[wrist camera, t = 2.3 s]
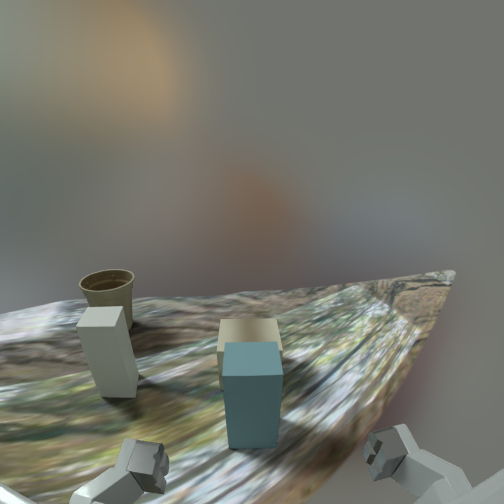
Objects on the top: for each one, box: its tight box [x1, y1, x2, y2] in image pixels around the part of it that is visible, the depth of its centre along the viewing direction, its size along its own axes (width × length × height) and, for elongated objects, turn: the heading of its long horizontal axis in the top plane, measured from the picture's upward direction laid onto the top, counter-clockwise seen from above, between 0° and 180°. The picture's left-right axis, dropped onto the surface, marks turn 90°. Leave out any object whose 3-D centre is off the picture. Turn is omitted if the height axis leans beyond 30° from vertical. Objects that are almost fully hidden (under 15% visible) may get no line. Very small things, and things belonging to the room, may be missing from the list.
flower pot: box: [79, 269, 135, 330], centre depth 42 cm, size 9×9×9 cm
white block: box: [76, 306, 139, 398], centre depth 29 cm, size 4×4×10 cm
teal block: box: [222, 341, 284, 449], centre depth 23 cm, size 4×4×10 cm
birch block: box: [217, 319, 283, 390], centre depth 34 cm, size 7×7×6 cm
